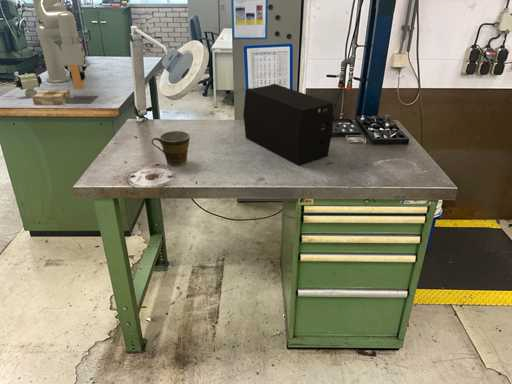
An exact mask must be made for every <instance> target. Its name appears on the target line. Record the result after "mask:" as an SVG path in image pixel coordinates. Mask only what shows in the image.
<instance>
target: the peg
mask: <svg viewBox="0 0 512 384" xmlns="http://www.w3.org/2000/svg"><path fill="white" fill-rule="evenodd" d="M70 70H71V74H72V79H73V80H72V79H71V80H72V84H73V87H74V88H73V89H74V90H83V89H85V88H86V83H85V79H84V80H81V76H80V68H79V66H78V65H70Z"/></svg>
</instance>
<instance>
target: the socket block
mask: <svg viewBox="0 0 512 384" xmlns="http://www.w3.org/2000/svg"><path fill="white" fill-rule="evenodd" d="M31 98H32V102H33V105H34V106H62V105H63V104H64V103H66V102H67V101H69V100H70V99H71V98H72V96H71V92H70V89H43V90H41V91H40V92H37V94H36V95H34V96H33V97H31Z"/></svg>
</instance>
